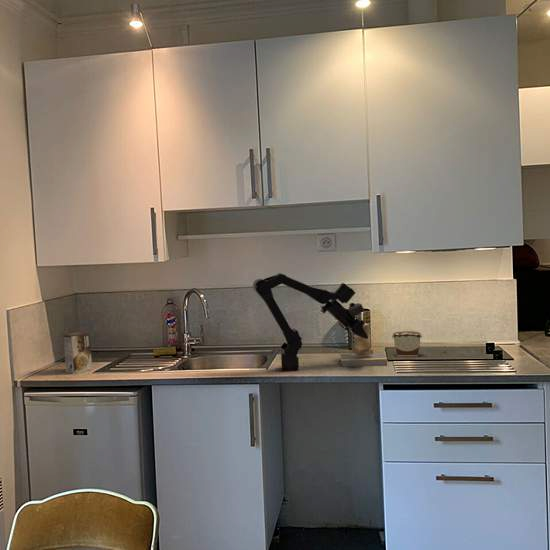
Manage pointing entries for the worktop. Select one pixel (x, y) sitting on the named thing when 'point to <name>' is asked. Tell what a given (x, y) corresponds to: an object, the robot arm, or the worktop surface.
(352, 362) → the plate
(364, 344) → the tan piece
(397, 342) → the food container
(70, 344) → the coffee box
